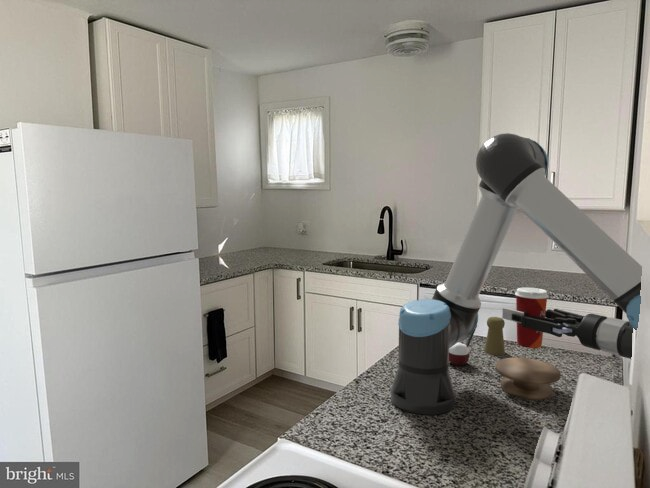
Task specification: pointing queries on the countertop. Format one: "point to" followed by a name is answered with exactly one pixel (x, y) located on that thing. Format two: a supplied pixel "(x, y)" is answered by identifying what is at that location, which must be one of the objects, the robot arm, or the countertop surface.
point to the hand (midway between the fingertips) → (512, 311)
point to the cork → (495, 336)
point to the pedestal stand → (527, 377)
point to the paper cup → (533, 305)
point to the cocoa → (460, 352)
